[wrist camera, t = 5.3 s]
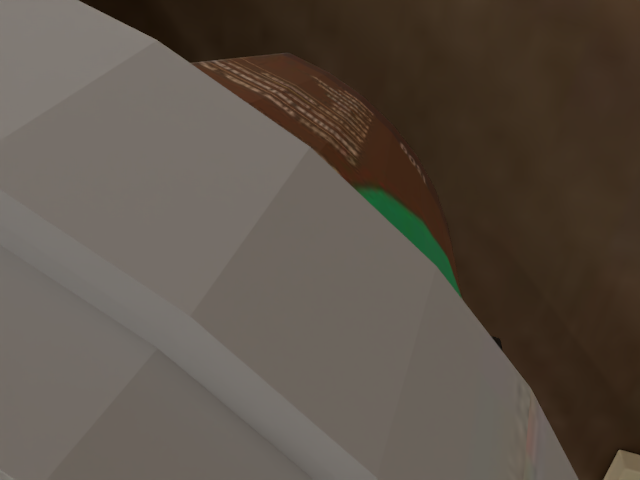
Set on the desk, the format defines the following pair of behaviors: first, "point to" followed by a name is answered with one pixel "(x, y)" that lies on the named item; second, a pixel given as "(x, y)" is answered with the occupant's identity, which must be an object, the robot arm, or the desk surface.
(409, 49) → the desk surface
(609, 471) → the dish rack
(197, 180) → the food container
